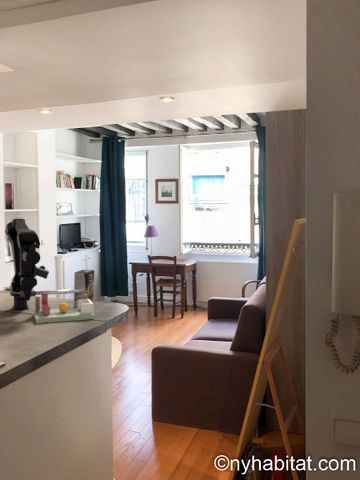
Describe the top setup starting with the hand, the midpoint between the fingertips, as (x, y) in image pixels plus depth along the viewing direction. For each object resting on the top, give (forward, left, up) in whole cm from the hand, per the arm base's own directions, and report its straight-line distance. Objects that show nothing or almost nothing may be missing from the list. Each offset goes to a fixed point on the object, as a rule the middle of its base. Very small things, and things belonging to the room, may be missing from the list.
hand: (27, 298), depth 185 cm
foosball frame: (+6, +14, -8) cm, 17 cm away
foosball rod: (+4, +10, -5) cm, 12 cm away
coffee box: (-12, +26, -8) cm, 30 cm away
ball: (+6, +14, -4) cm, 15 cm away
